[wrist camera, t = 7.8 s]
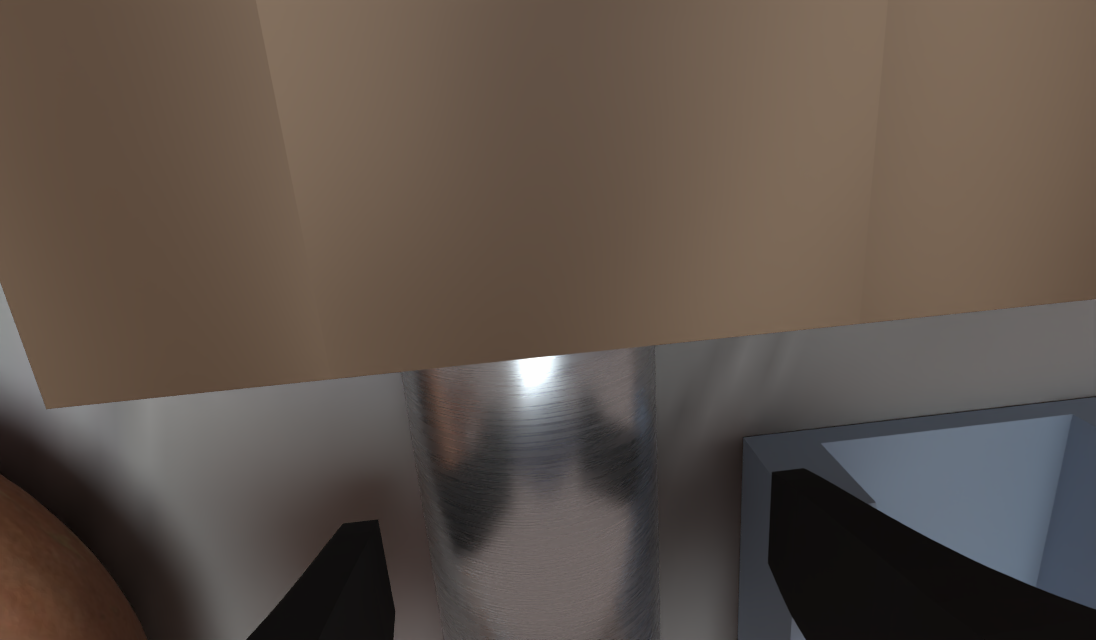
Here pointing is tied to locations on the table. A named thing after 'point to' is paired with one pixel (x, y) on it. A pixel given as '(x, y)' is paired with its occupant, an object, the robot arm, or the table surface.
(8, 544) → the ceramic jug
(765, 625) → the cradle
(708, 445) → the table surface
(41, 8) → the beam
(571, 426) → the axle
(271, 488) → the table surface
